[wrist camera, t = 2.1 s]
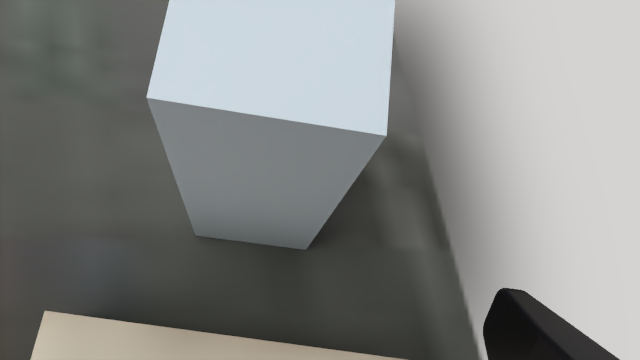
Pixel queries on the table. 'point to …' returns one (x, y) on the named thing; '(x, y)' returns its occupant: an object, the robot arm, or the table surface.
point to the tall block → (270, 110)
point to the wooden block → (161, 343)
